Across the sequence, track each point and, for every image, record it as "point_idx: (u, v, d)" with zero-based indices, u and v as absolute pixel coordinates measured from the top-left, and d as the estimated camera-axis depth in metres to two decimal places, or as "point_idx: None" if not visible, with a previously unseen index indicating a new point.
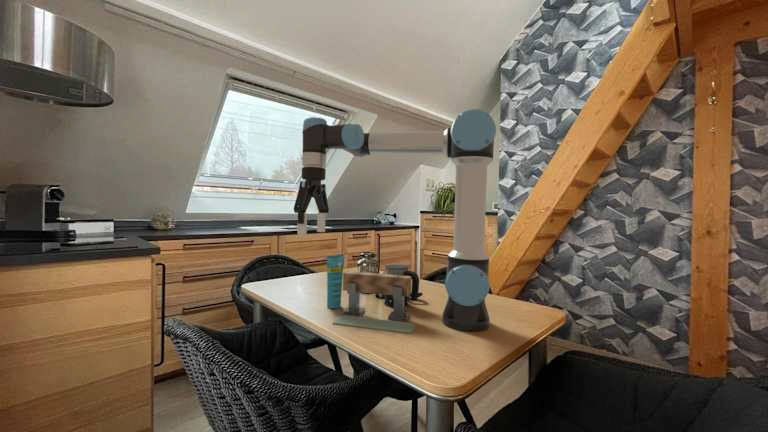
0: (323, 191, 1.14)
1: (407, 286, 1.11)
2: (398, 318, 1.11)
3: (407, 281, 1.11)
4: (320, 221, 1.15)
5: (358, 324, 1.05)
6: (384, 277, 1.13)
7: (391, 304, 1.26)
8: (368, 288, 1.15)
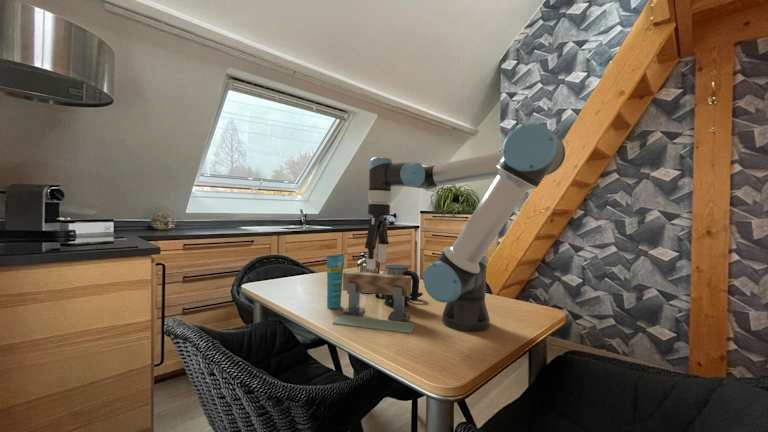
0: (385, 224, 1.21)
1: (407, 286, 1.11)
2: (398, 318, 1.11)
3: (407, 281, 1.11)
4: (381, 252, 1.22)
5: (358, 324, 1.05)
6: (384, 277, 1.13)
7: (391, 304, 1.27)
8: (368, 288, 1.15)
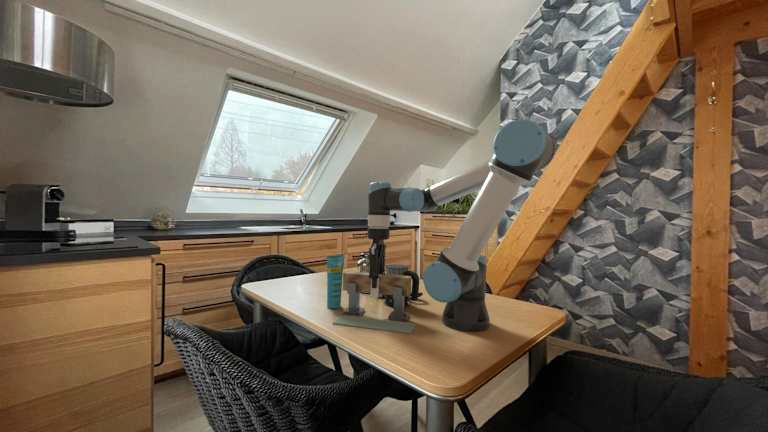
0: (383, 251, 1.20)
1: (407, 286, 1.11)
2: (398, 318, 1.11)
3: (407, 281, 1.11)
4: None
5: (358, 324, 1.05)
6: (384, 277, 1.13)
7: (391, 304, 1.27)
8: (368, 288, 1.15)
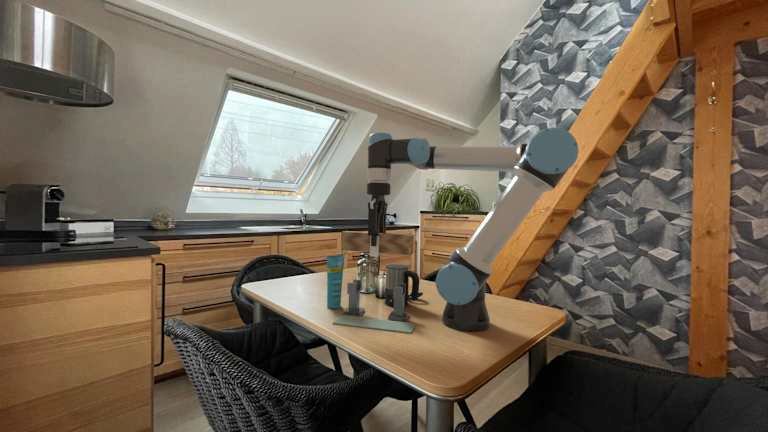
0: (384, 209, 1.13)
1: (409, 244, 1.03)
2: (398, 318, 1.11)
3: (409, 238, 1.03)
4: None
5: (358, 324, 1.05)
6: (384, 235, 1.06)
7: (391, 304, 1.27)
8: (367, 248, 1.07)
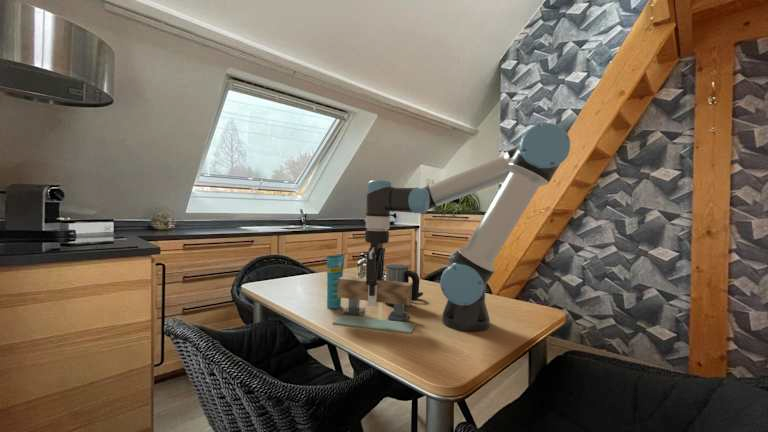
0: (382, 255, 1.11)
1: (407, 294, 1.02)
2: (398, 318, 1.11)
3: (407, 289, 1.02)
4: None
5: (358, 324, 1.05)
6: (382, 284, 1.04)
7: (391, 304, 1.27)
8: (364, 296, 1.05)
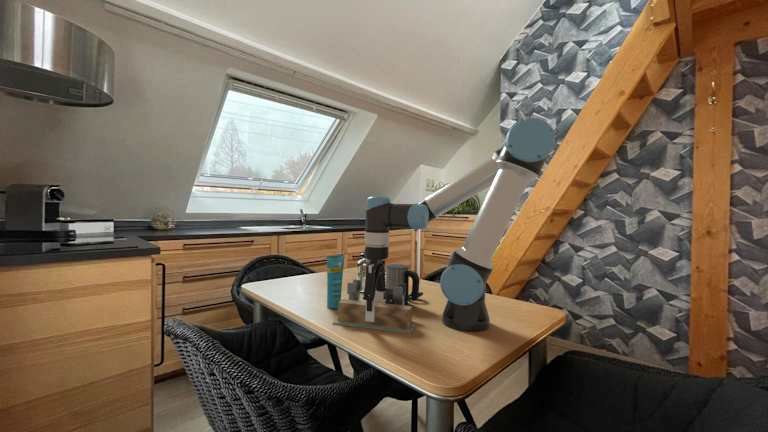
0: (383, 267, 1.12)
1: (407, 318, 1.02)
2: None
3: (407, 313, 1.02)
4: (378, 300, 1.12)
5: (358, 324, 1.05)
6: (382, 308, 1.04)
7: None
8: None
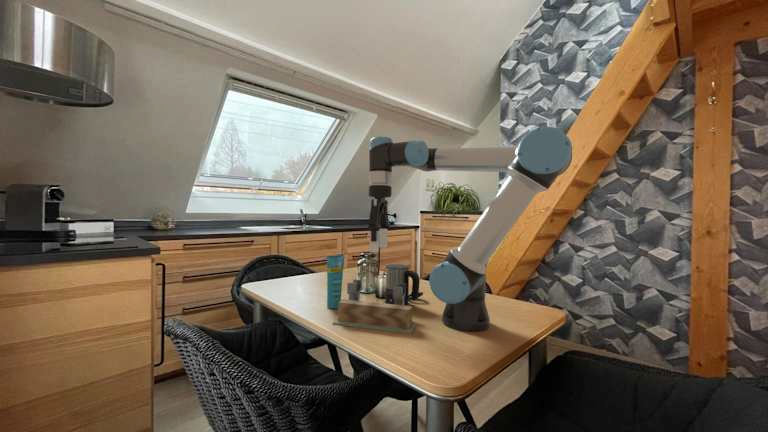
0: (385, 207, 1.17)
1: (407, 318, 1.02)
2: None
3: (407, 313, 1.02)
4: (382, 237, 1.18)
5: (358, 324, 1.05)
6: (382, 308, 1.04)
7: (391, 303, 1.27)
8: (365, 320, 1.06)
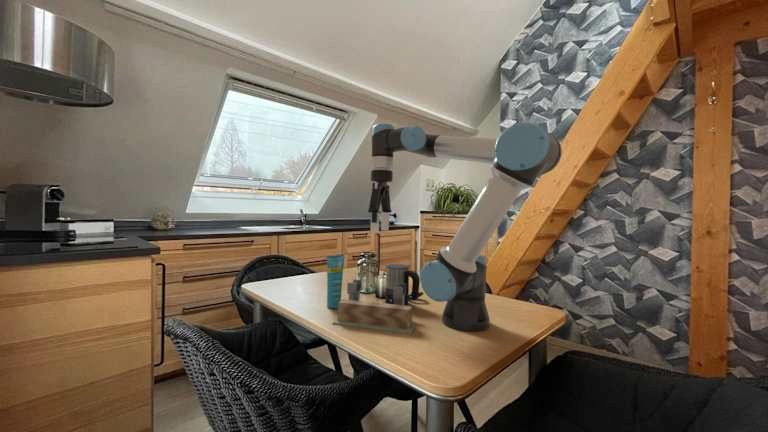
0: (387, 192, 1.23)
1: (407, 318, 1.02)
2: None
3: (407, 313, 1.02)
4: (384, 220, 1.24)
5: (358, 324, 1.05)
6: (382, 308, 1.04)
7: (392, 303, 1.27)
8: (365, 320, 1.06)
